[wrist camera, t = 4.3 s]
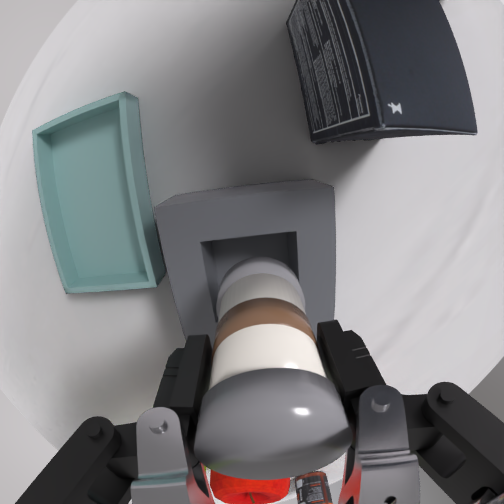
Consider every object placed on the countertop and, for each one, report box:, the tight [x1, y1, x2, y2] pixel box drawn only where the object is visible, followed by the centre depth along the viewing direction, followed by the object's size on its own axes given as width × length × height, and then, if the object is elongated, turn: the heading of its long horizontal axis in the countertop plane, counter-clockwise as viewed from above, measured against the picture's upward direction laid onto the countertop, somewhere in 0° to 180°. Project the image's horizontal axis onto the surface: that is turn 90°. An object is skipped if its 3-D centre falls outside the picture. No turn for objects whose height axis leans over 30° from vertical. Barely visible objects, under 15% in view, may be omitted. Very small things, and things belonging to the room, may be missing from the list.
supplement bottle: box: [295, 472, 333, 504], centre depth 30 cm, size 6×6×11 cm
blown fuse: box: [194, 257, 353, 480], centre depth 10 cm, size 4×4×9 cm
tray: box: [32, 91, 165, 294], centre depth 18 cm, size 14×9×2 cm, turn 6°
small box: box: [286, 0, 478, 144], centre depth 11 cm, size 11×6×10 cm, turn 10°
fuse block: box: [154, 179, 336, 350], centre depth 18 cm, size 20×10×10 cm, turn 6°
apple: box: [210, 470, 290, 504], centre depth 24 cm, size 9×9×11 cm
